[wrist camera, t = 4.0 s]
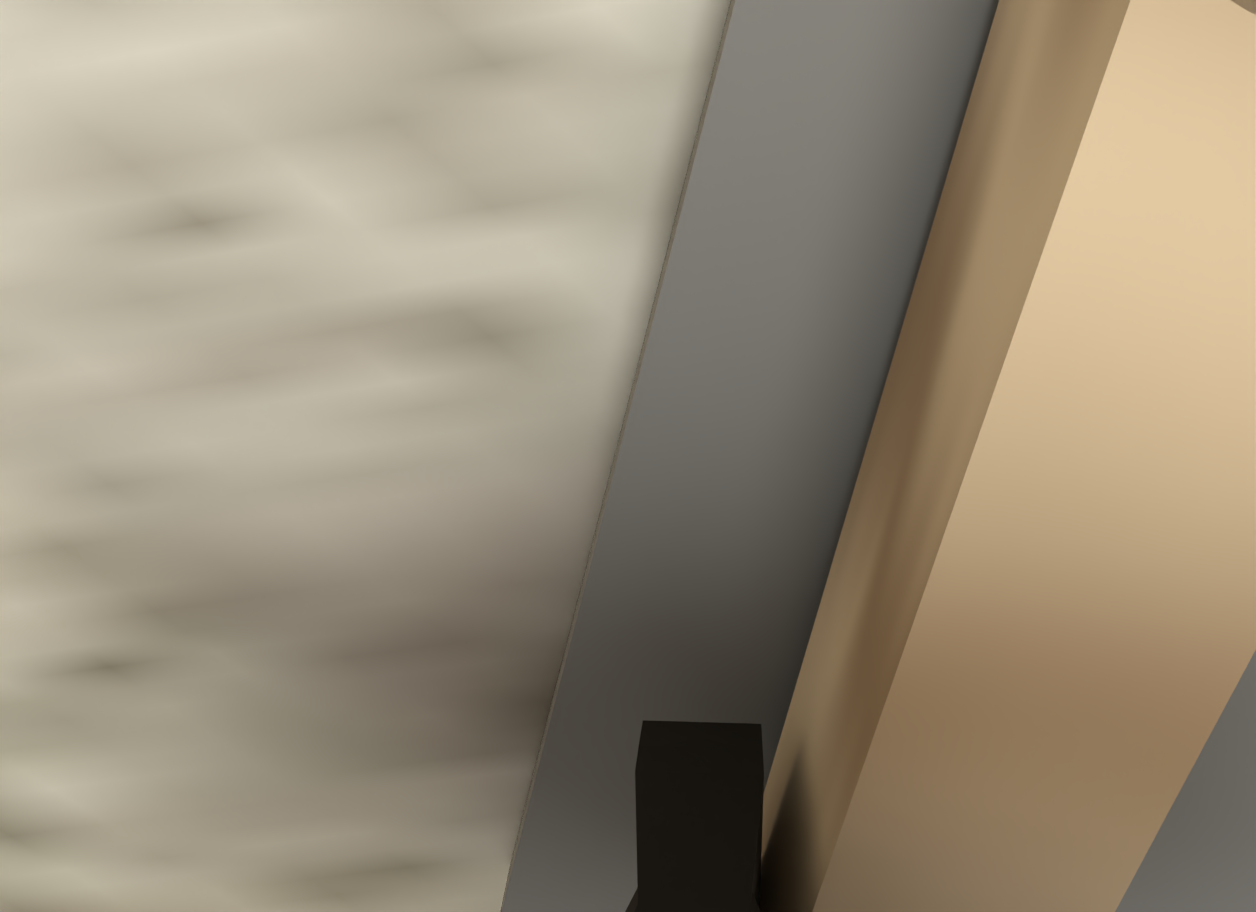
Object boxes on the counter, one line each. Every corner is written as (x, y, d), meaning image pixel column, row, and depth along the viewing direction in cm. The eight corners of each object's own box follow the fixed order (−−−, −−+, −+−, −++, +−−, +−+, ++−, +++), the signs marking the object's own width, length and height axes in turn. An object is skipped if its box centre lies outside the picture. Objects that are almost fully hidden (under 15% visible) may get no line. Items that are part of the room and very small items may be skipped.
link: (1087, -903, 7) (1300, -1313, 4) (1829, -763, 7) (2477, -1082, 4) (645, 908, 15) (626, 1151, 12) (997, 969, 15) (1053, 1224, 12)
